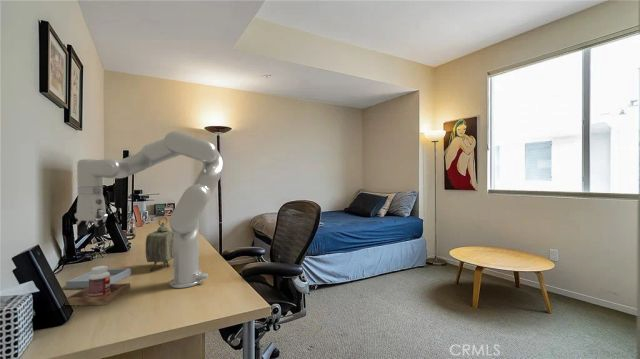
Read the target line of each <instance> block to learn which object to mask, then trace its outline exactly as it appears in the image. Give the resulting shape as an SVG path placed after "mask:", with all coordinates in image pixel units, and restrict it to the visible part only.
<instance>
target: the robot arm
mask: <svg viewBox="0 0 640 359" xmlns="http://www.w3.org/2000/svg"><path fill="white" fill-rule="evenodd" d="M179 156H184V157H188V158H190V159H193V160H196V161H200V162H201V163H202V167H201V169H200V171H199V172H198V175H197V176H196V178H195V180H194V182H193V183H192V185H190V186H189V187H187V188H186V189H185V190H184V192H183V193H182V195H181V196H180V198H179V200H178V202H177V204H176V205H175V208H174V209H173V211H172V213H171V215H170V217H169V219H168V220H169V221H168V226H169V228H170V229H171V230H170V231H174V258H173V279H171V280H170V281H169V287H172V288H175V289H184V288H190V287H194V286H197V285H198V284H199V285H200V284H201V283H202V282H203V280H208V279H209V274H208V272H202V269H200V268H199V267H200V263H199V259H200V257H199V252H200V251H199V249H200V248H199V245H200V244H199V243H200V242H199V238H200V235H199V233H200V232H199V231H200V216H202V215H201V214H202V213H203V211H204V210H205V208H206V206H207V204H208V203H209V202H210V200H211V197H212V195H213V192H214V191H215V189H216V187H217V185H218V183H219V180H220V179H221V177H222V174H223V171H224V160H223V158H222V154H221V153H220V152H219V151H218V149H217V147H216V145H214V144H213V143H211V142H210V141H208V140H205V139H202V138H199V137H197V136H196V137H195V136H193V135H190V134H187V133H185V132H182V131H178V130H172V131H169V132H168V133H167V134H166V135H165V137H164V138H162V139H159V140H156V141H153V142H150V143H148V144H145V145H144V146H142V148H141V149H140V150H139V151H138V152H137V153H134V154H132V155H129V156H127V157H125V158H122V159H116V158H103V159H91V158H90V159H89V158H88V159H85V158H84V159H83V158H82V159H79V160H78V161H77V162H76V163H77V166H76V168H77V170H76V172H77V173H76V174H77V175H76V176H77V178H76V179H77V185H76V186H77V202H76V212H75V213H74V218H75V222H76V228H77V230H76V231H77V233H76V235H77V237H82V236H86V235H88V233H89V232H88V222H93V224H94V225H95V226H94V227H93V231H94V232H93V236H94V238H100V237H104V236H105V226H106V222H107V218H108V214H107V211H106V210H107V209H106V208H107V207H106V203H105V202H106V200H105V196H104V194H103V193H104V189H103V188H104V185H103V180H104V179H103V178H106V179H124V178H127V177H130V176H132V175H133V176H134V175H135V174H137V173H140V172H142V171H145V170H146V169H149V168H152V167H154V166H155V165H157V164H160V163H163V162H166V161H168V160H171V159H174V158H176V157H179Z"/></svg>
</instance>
